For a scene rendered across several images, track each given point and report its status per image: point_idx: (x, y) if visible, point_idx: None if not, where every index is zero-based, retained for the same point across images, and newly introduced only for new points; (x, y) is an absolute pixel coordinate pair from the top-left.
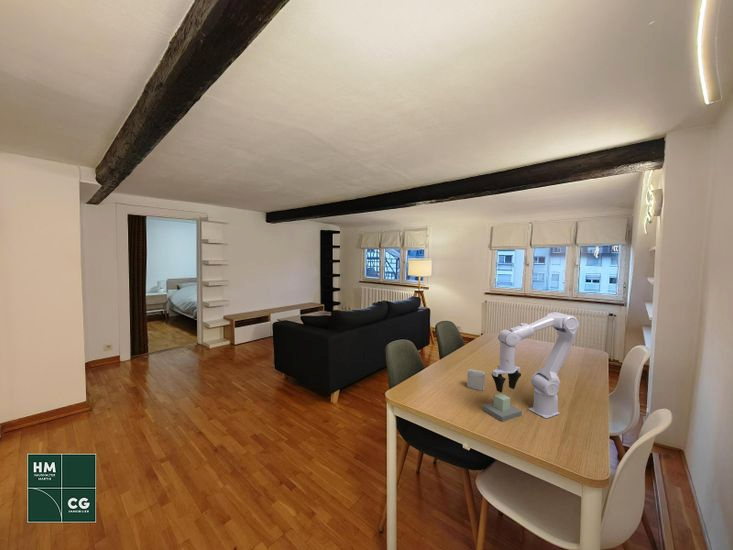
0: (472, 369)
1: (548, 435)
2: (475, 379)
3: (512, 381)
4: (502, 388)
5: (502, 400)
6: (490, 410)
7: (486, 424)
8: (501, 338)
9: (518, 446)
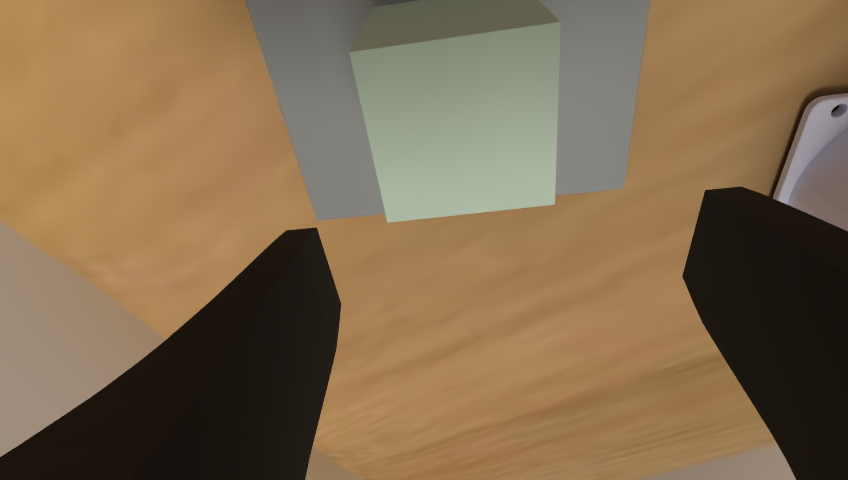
0: None
1: (529, 372)
2: None
3: (807, 386)
4: (317, 392)
5: (385, 208)
6: (272, 76)
7: (157, 187)
8: None
9: None
